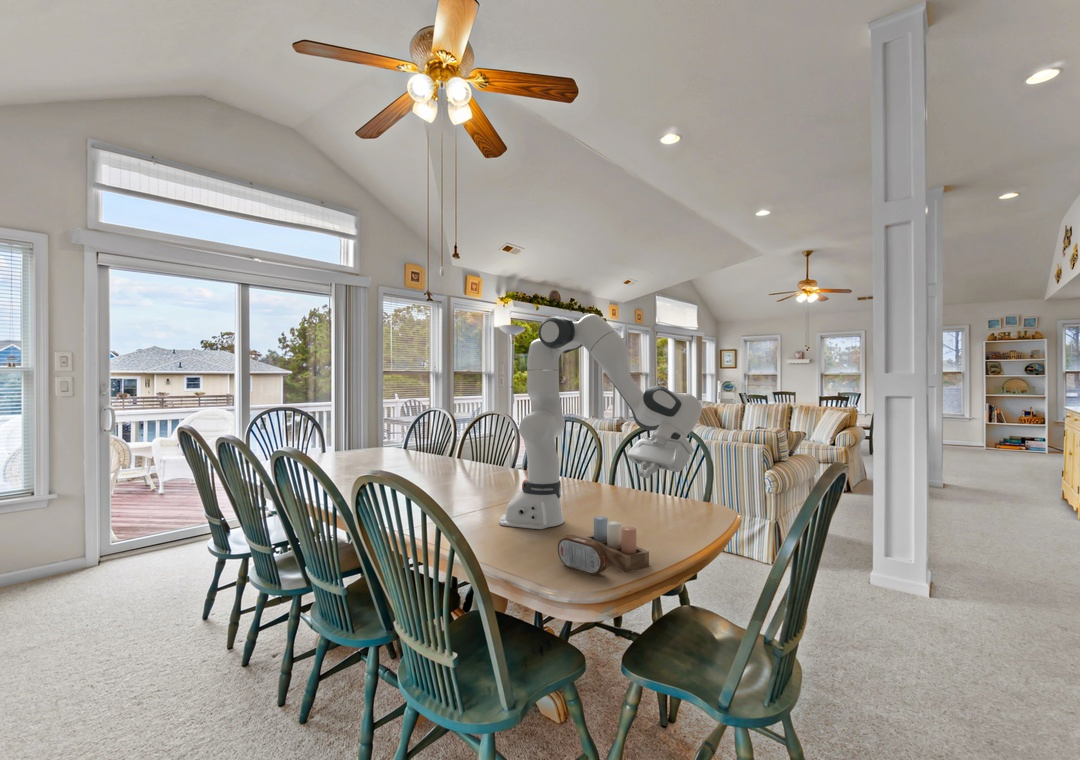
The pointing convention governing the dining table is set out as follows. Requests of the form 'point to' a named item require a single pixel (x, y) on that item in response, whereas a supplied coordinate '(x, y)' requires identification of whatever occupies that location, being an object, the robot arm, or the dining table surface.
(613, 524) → the white pillar candle
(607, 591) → the dining table surface
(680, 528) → the dining table surface
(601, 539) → the blue grey capsule
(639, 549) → the three candle holder
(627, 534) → the salmon pink capsule
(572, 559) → the tin
